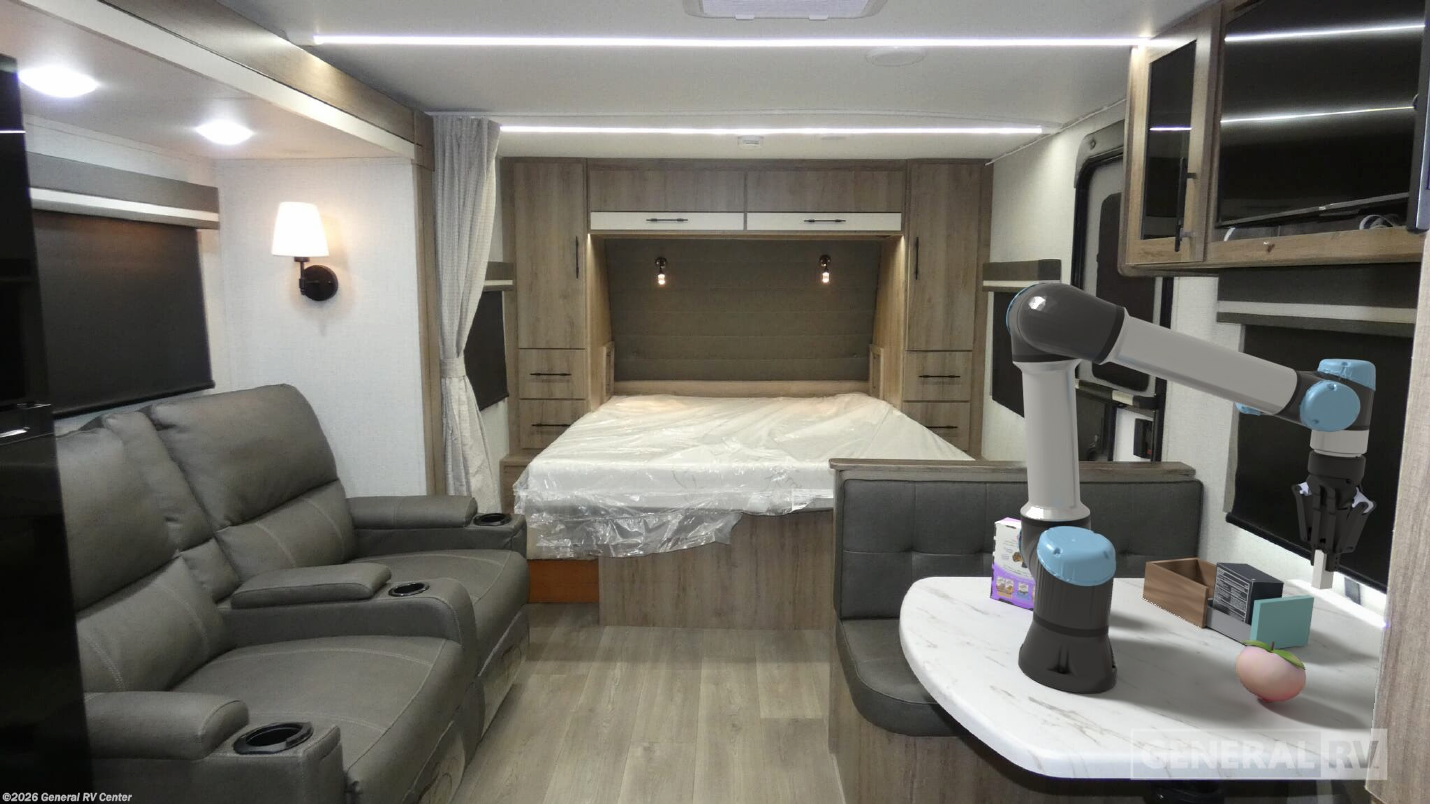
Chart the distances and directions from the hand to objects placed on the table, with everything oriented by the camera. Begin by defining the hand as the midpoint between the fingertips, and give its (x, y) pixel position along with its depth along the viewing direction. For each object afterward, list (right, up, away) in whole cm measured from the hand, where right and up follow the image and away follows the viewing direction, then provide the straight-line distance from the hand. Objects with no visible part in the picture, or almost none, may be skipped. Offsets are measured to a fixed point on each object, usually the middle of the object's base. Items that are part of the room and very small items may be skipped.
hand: (1321, 587), depth 139 cm
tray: (-4, -12, +15) cm, 19 cm away
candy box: (-40, -10, +26) cm, 49 cm away
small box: (-4, -11, +14) cm, 18 cm away
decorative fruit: (-18, -16, -12) cm, 26 cm away
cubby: (-7, -10, +24) cm, 27 cm away
